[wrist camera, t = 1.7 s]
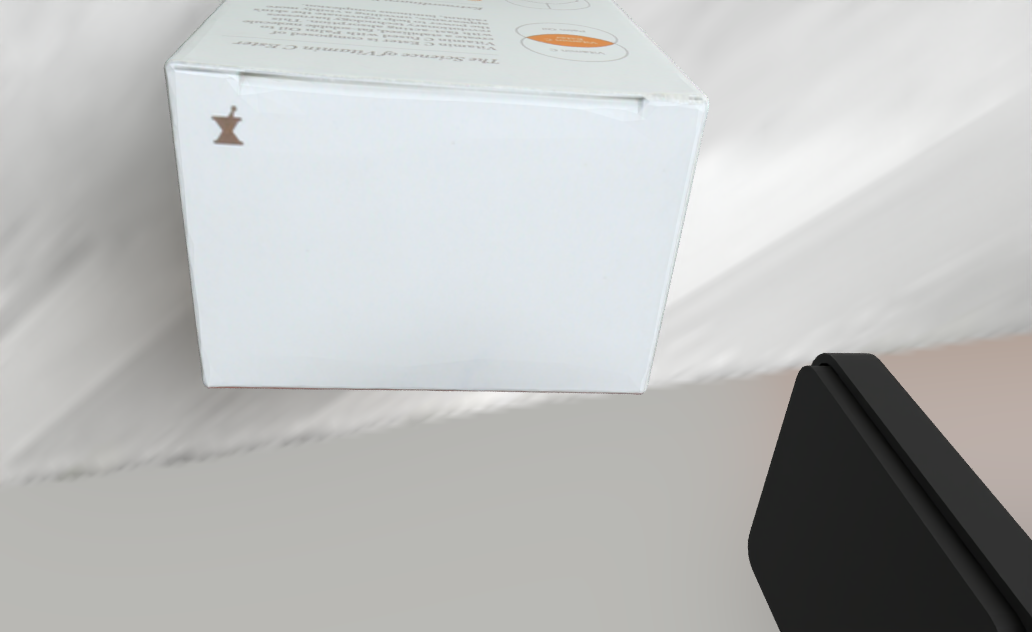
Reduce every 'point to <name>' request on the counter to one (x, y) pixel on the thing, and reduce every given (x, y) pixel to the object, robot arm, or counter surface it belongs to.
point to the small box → (430, 193)
